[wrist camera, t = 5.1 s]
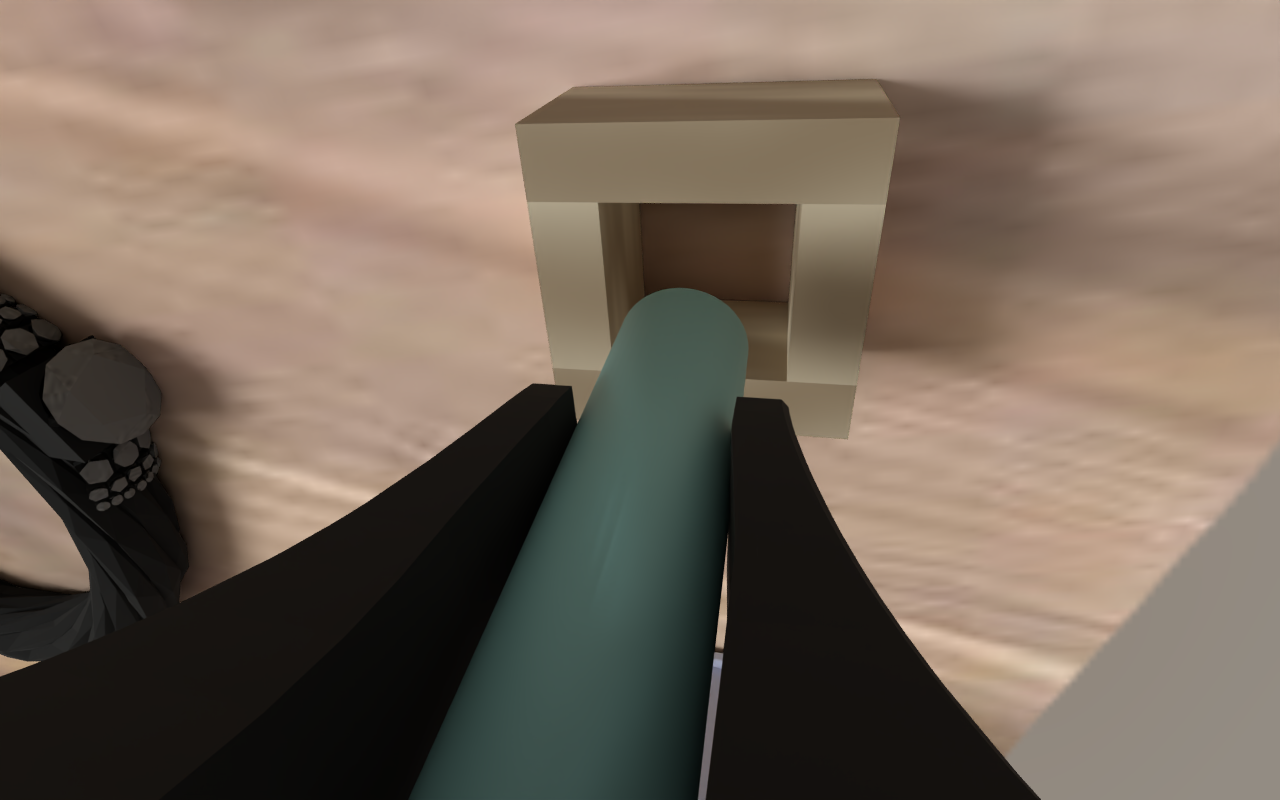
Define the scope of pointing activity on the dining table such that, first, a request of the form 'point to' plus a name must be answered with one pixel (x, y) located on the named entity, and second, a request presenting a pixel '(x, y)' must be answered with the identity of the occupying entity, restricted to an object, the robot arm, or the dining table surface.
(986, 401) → the dining table surface
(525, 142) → the beige socket block
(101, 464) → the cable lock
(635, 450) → the peg
